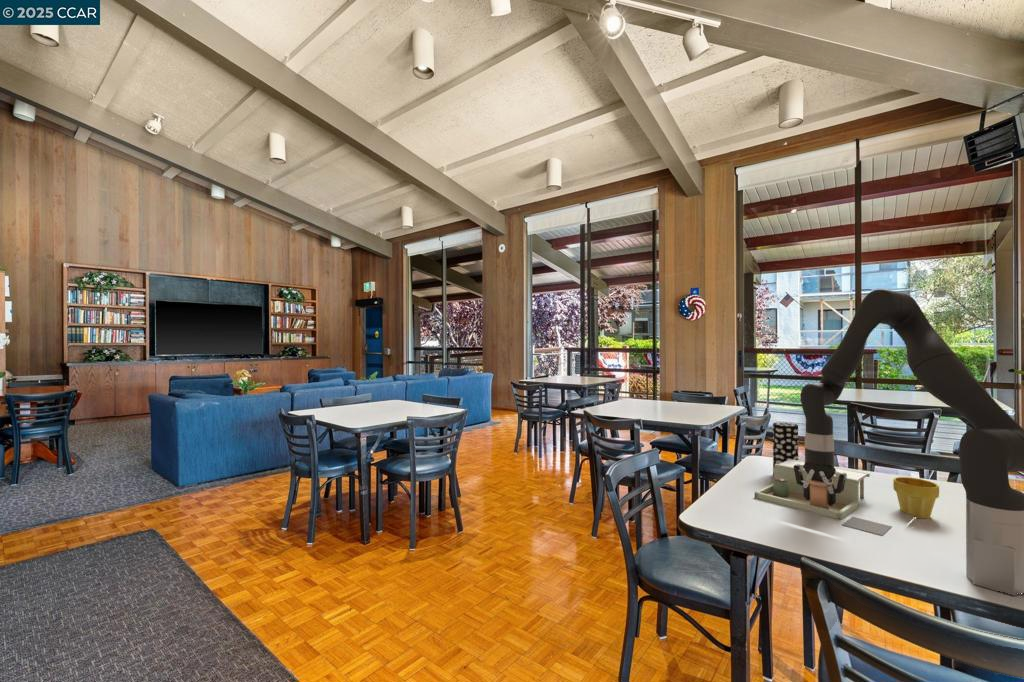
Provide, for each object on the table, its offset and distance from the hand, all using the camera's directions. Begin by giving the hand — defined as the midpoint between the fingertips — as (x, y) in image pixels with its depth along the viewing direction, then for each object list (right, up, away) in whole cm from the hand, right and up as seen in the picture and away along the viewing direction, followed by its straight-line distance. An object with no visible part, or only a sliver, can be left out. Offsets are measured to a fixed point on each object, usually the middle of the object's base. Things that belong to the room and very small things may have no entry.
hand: (819, 502), depth 142 cm
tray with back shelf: (+3, -2, +8) cm, 9 cm away
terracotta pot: (0, -1, 0) cm, 1 cm away
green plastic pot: (-6, -1, +11) cm, 12 cm away
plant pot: (+26, -2, -4) cm, 26 cm away
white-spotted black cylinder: (+10, -2, +34) cm, 35 cm away
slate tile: (+3, -2, -15) cm, 15 cm away
